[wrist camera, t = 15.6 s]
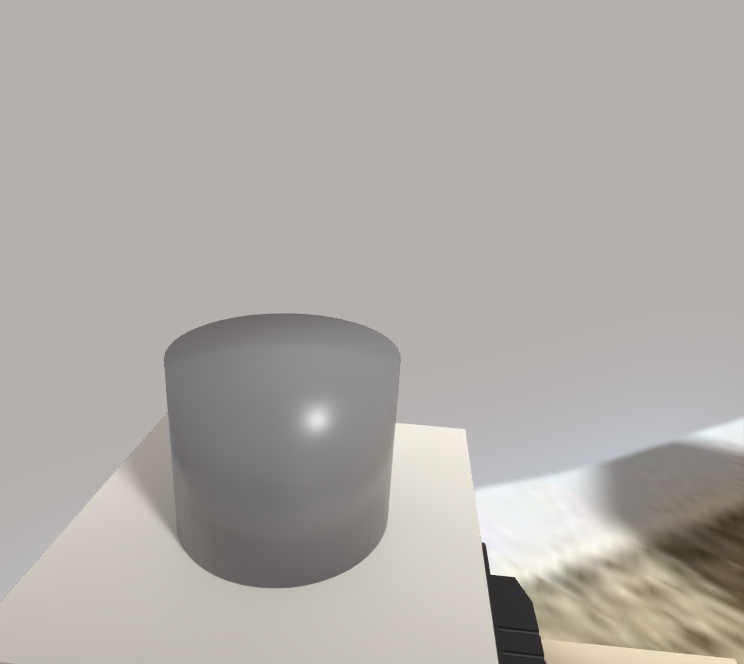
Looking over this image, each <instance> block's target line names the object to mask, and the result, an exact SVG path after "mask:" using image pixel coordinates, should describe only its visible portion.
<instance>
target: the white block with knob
mask: <svg viewBox="0 0 744 664" xmlns="http://www.w3.org/2000/svg"><path fill="white" fill-rule="evenodd" d="M400 361H401V360H400V353H399V351H398V348H397V347H396V346H395V344H394V343H393V342H392V341H391V340H389V339H388V338H387V337H385V336H384V335H382V334H381V333H379V332H377V331H375V330H373V329H371V328H368V327H366V326H363V325H360V324H357V323H354V322H350V321H346V320H342V319H337V318H332V317H325V316H318V315H308V314H261V315H250V316H242V317H236V318H230V319H226V320H220V321H217V322H213V323H210V324H207V325H204V326H201V327H198V328H196V329H193V330H191V331H189V332H187V333H186V334H184V335H182V336H180V337H179V338H178V339H176V340H175V341H174V342H173V343H172V344H171V345H170V346H169V347H168V349H167V351H166V352H165V356H164V367H165V378H166V392H167V404H168V412H167V414H166V415H165V416H164V417H163V418H162V419H161V420H160V422H159V423H158V424H157V425H156V426H155V427H154V428H153V430H152V431H151V432H150V433H149V434H148V435H147V436H146V437H145V439H144V440H143V441H142V442H141V443H140V444H139V446H138V447H137V448H136V449H135V450H134V451H133V452H132V453H131V455H130V456H129V457H128V458H127V459H126V460H125V461H124V462H123V464H122V465H121V466H120V467H119V468H118V469H117V470H116V471H115V473H114V474H113V475H112V476H111V477H110V478H109V479H108V481H107V482H106V483H105V484H104V485H103V486H102V487H101V489H100V490H99V491H98V492H97V493H96V494H95V495H94V496H93V498H92V499H91V500H90V501H89V502H88V503H87V504H86V505H85V507H84V508H83V509H82V510H81V511H80V512H79V513H78V515H77V516H76V517H75V518H74V519H73V520H72V521H71V522H70V524H69V525H68V526H67V527H66V528H65V529H64V530H63V532H62V533H61V534H60V535H59V536H58V537H57V538H56V539H55V541H54V542H53V543H52V544H51V545H50V546H49V548H48V549H47V550H46V551H45V552H44V553H43V554H42V555H41V557H40V558H39V559H38V560H37V561H36V562H35V563H34V565H33V566H32V567H31V568H30V569H29V570H28V571H27V573H26V574H25V575H24V576H23V577H22V578H21V579H20V580H19V581H18V583H17V584H16V585H15V586H14V587H13V588H12V589H11V591H10V592H9V593H8V594H7V595H6V596H5V597H4V599H3V600H2V601H1V602H0V664H498V657H497V650H496V643H495V636H494V629H493V622H492V615H491V607H490V600H489V593H488V586H487V579H486V572H485V565H484V558H483V551H482V544H481V537H480V530H479V523H478V516H477V509H476V502H475V495H474V488H473V481H472V474H471V467H470V461H469V453H468V447H467V439H466V433H465V429H455V428H445V427H434V426H423V425H412V424H400V423H396V410H397V399H398V385H399V374H400Z"/></svg>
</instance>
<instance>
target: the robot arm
mask: <svg viewBox="0 0 744 664" xmlns="http://www.w3.org/2000/svg"><path fill="white" fill-rule="evenodd" d="M481 544H482V551H483V558H484V565H485V572H486V579H487V586H488V593H489V600H490V607H491V615H492V622H493V629H494V636H495V643H496V650H497V657H498V664H546V661H545V660H544V651H543V646H542V642H541V638H540V636H539V629H538V625H537V620H536V616H535V612H534V607H533V603H532V601H531V600H530V598H529V597H528V596H527V594H526V593H525V591H524V590H523V588H522V587H521V586H520V584H519V583H518V581H517V580H516V578H515V577H507V576H497V575H490V569H489V562H488V556H487V550H486V545H485V543H481Z"/></svg>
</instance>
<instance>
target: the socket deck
mask: <svg viewBox="0 0 744 664" xmlns="http://www.w3.org/2000/svg"><path fill="white" fill-rule="evenodd" d="M541 642H542V646H543V651H544V660H545V661H546V664H737V662H736V660H735V659H729V658H719V657H710V656H700V655H690V654H680V653H671V652H661V651H651V650H642V649H632V648H622V647H613V646H603V645H593V644H584V643H574V642H564V641H555V640H545V639H541Z"/></svg>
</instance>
